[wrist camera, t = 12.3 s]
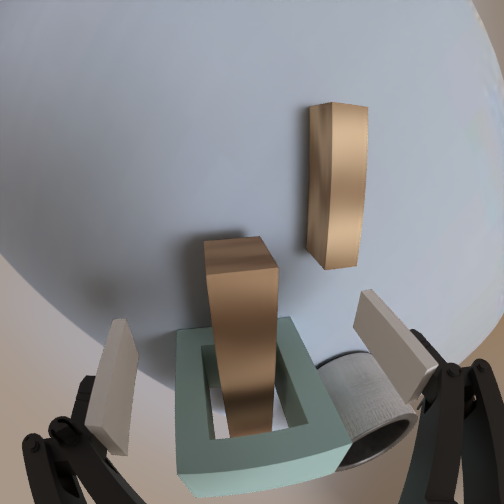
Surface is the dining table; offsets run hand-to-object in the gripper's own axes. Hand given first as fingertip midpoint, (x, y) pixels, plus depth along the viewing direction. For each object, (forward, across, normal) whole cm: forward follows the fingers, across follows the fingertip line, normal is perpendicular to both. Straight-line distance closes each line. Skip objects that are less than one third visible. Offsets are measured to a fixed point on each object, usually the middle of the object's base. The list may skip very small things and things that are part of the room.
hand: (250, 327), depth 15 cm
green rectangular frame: (+9, 0, -10) cm, 14 cm away
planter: (+9, +13, -20) cm, 26 cm away
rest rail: (+9, +8, +6) cm, 14 cm away
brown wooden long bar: (+6, 0, -9) cm, 11 cm away
